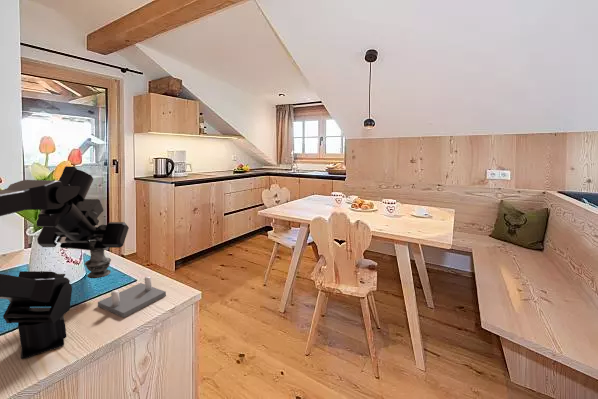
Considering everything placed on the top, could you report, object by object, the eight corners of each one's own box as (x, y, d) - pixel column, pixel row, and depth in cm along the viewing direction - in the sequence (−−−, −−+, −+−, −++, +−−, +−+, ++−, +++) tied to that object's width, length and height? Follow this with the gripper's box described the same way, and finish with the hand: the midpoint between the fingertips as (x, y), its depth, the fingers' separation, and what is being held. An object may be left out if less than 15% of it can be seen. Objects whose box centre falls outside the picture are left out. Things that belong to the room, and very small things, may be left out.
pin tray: (123, 317, 71) (122, 299, 70) (98, 306, 75) (96, 289, 74) (165, 295, 81) (165, 279, 80) (141, 286, 86) (140, 271, 85)
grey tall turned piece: (117, 270, 82) (113, 228, 80) (101, 279, 77) (97, 235, 74) (97, 268, 83) (93, 227, 81) (80, 277, 77) (75, 233, 75)
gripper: (122, 191, 73) (144, 223, 85) (40, 189, 71) (74, 222, 84) (107, 231, 66) (133, 259, 79) (16, 230, 65) (58, 259, 77)
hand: (100, 248), depth 80 cm, fingers closed on grey tall turned piece, 4 cm apart
